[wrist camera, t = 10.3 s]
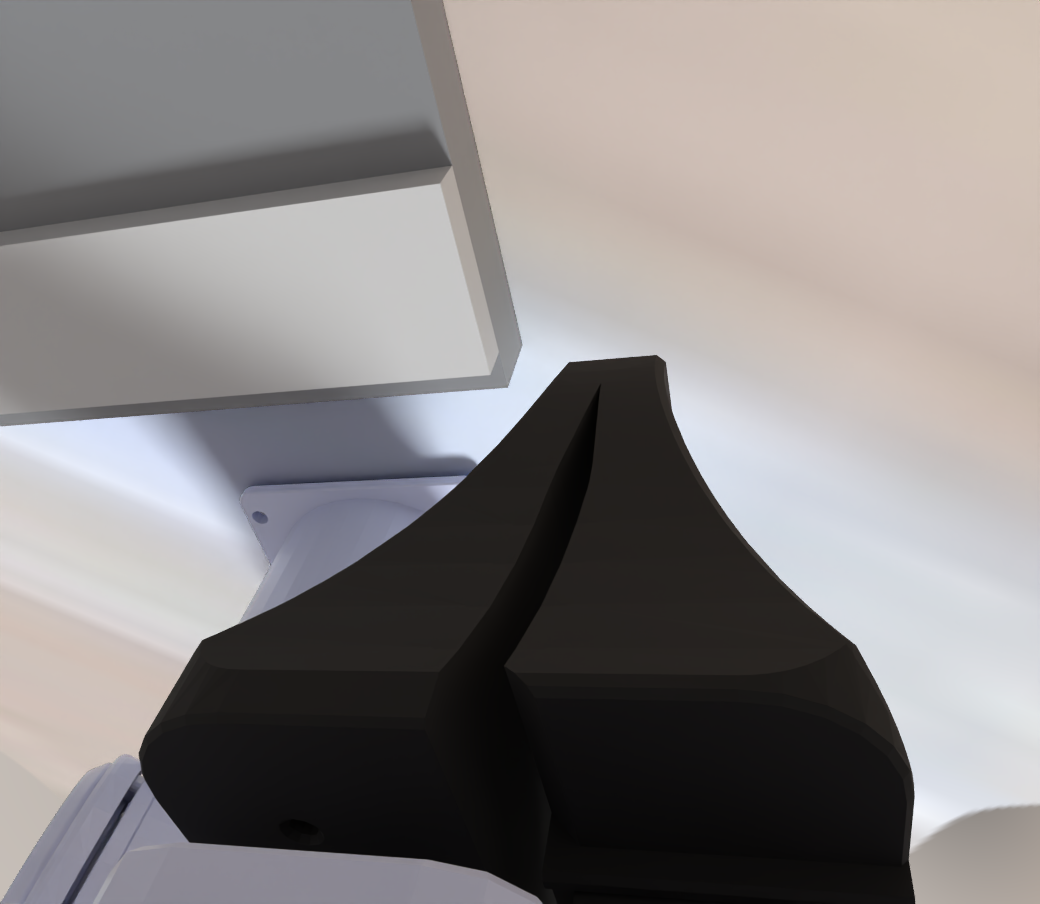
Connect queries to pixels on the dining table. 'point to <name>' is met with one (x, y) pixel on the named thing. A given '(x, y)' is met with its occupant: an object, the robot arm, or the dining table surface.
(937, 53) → the dining table surface
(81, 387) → the breaker panel
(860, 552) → the dining table surface
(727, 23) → the dining table surface
